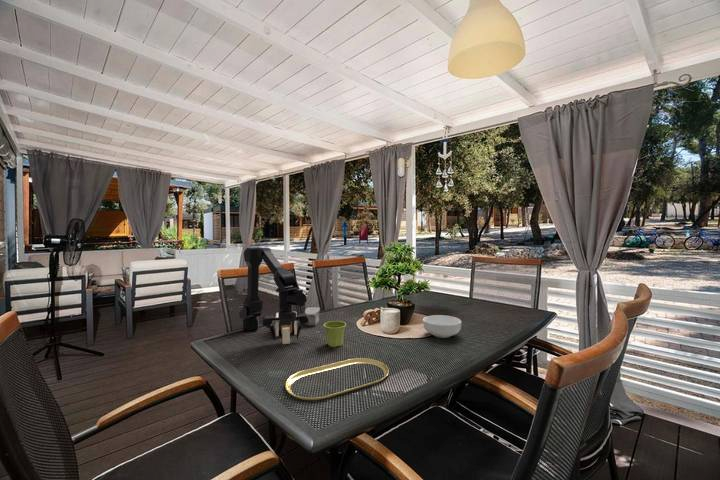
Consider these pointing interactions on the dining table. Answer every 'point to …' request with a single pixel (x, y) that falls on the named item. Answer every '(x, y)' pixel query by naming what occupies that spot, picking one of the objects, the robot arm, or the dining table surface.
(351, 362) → the serving platter
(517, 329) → the dining table surface
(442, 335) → the cereal bowl
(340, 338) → the plant pot
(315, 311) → the decorative stone
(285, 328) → the cream and brown mallet
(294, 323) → the white open box
